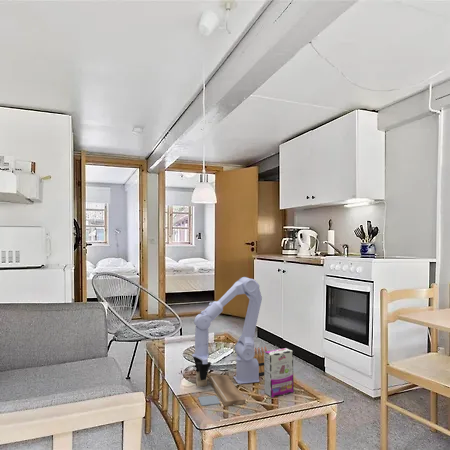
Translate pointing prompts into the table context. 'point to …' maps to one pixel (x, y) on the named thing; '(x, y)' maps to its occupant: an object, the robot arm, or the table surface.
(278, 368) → the candy bar box
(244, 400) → the walnut board
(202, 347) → the robot arm
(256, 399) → the table surface
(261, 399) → the table surface
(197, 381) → the block
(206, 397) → the slate mat
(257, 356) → the ammunition clip
